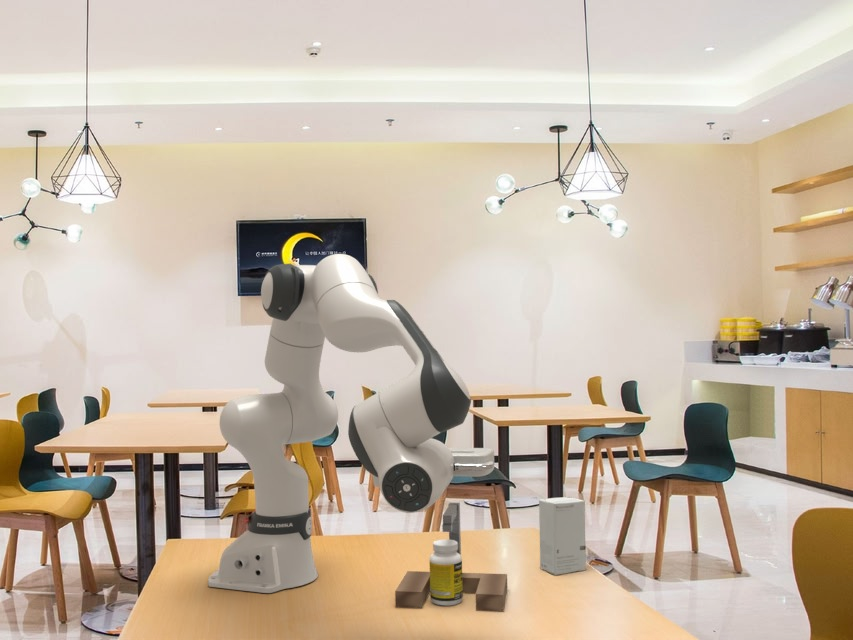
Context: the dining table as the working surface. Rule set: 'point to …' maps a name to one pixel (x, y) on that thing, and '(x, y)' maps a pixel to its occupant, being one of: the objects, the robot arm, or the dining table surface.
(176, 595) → the dining table surface
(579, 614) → the dining table surface
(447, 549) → the pill bottle
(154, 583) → the dining table surface
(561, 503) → the skincare box
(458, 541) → the hook arm
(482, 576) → the cutout shelf
